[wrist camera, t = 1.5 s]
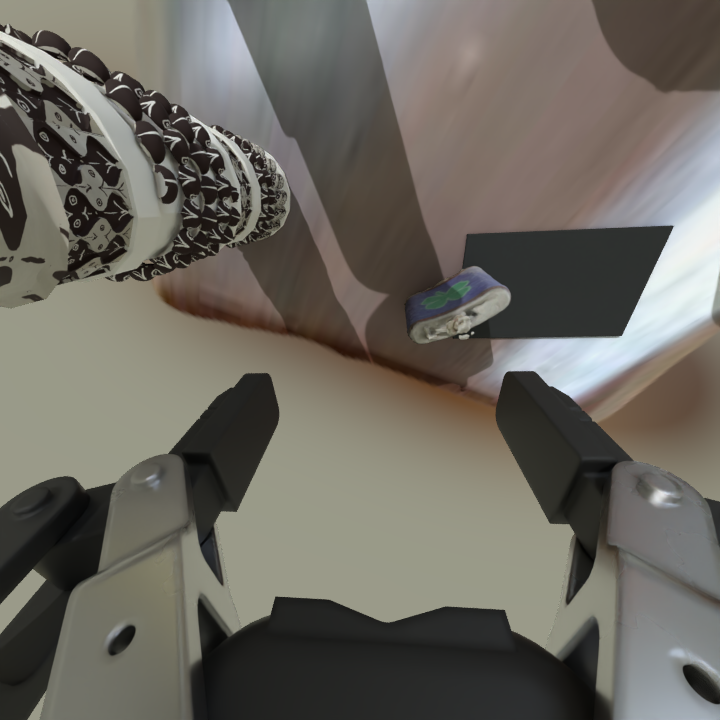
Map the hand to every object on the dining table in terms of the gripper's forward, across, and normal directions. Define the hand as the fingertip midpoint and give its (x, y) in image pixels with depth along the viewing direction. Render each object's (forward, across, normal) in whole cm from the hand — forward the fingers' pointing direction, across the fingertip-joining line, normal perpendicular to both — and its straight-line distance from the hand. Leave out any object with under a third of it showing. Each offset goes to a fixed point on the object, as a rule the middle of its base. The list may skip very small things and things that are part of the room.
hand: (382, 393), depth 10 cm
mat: (+24, -19, +3) cm, 31 cm away
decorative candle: (+24, +13, -8) cm, 29 cm away
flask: (+24, -7, +3) cm, 26 cm away
